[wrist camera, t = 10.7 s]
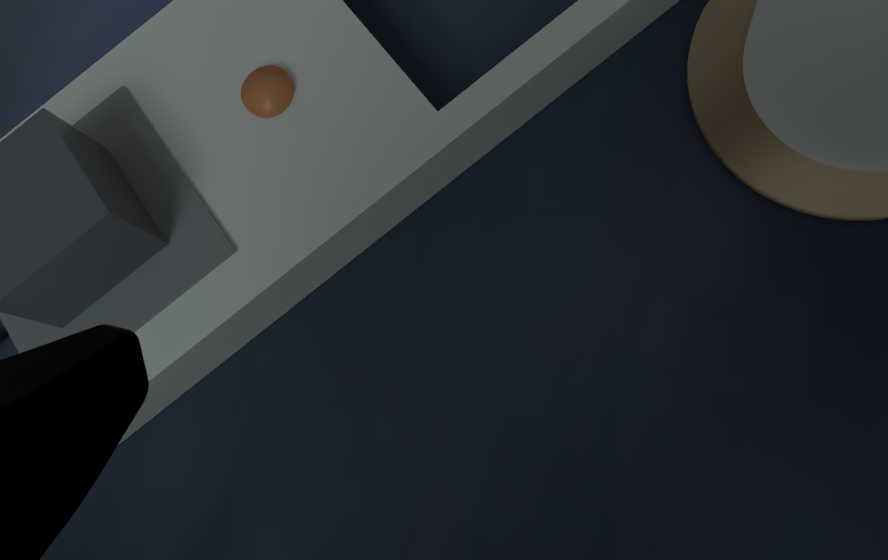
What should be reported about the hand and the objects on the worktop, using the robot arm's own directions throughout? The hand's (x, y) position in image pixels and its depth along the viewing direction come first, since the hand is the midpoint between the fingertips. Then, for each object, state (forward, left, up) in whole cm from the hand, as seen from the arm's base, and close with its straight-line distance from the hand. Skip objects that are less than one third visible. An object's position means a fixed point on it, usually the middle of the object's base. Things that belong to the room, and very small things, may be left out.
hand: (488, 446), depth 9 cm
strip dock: (+14, -1, -14) cm, 19 cm away
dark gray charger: (+14, +7, -11) cm, 19 cm away
